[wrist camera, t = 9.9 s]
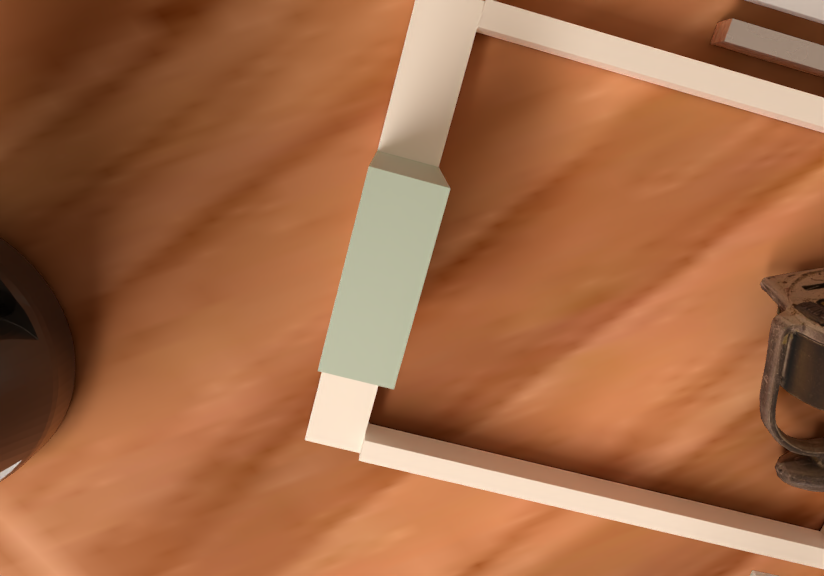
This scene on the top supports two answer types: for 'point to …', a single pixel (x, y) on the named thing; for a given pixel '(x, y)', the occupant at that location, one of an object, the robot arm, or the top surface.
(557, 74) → the top surface
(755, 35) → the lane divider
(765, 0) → the grey l-shaped bracket
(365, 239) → the light grey frame
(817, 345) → the brown spool with wire
